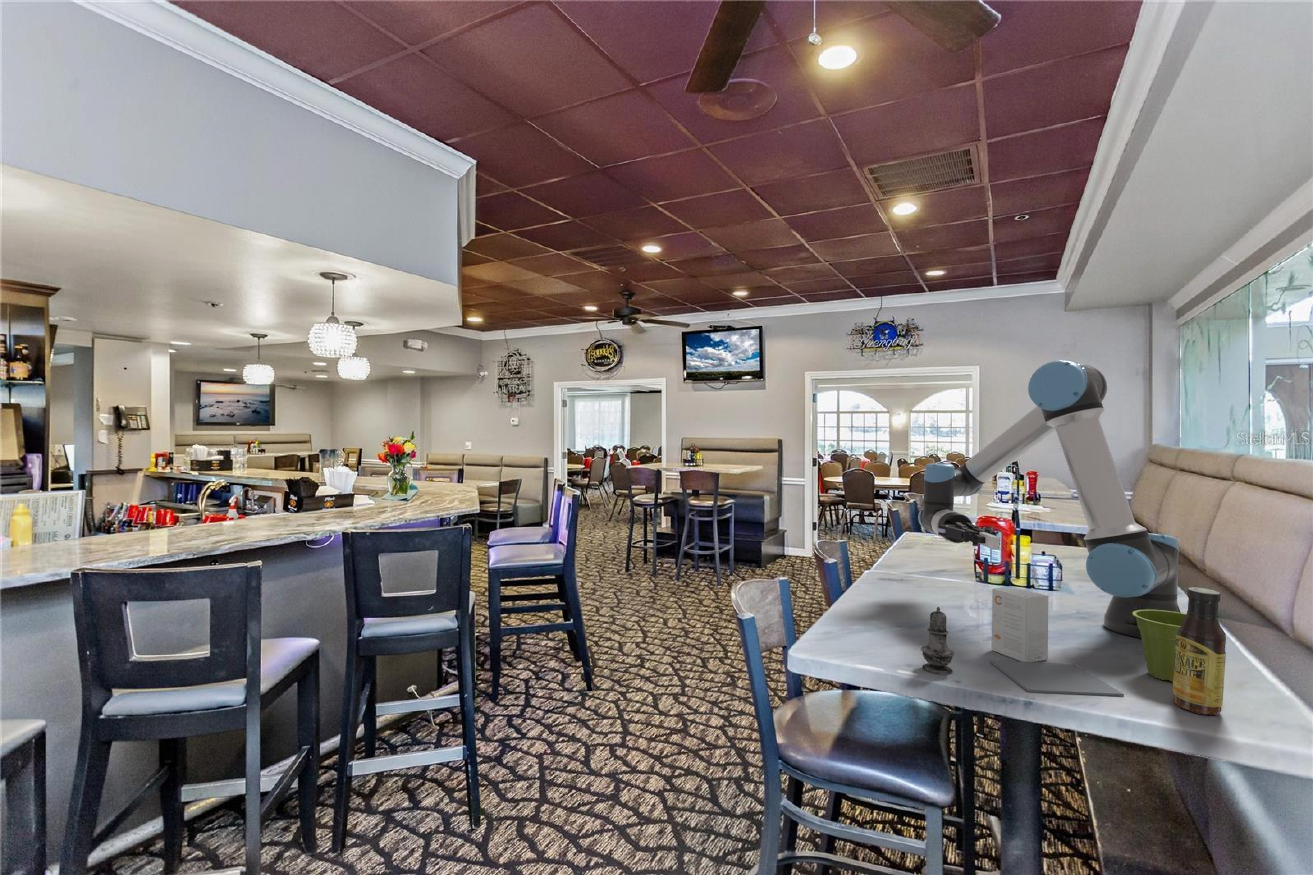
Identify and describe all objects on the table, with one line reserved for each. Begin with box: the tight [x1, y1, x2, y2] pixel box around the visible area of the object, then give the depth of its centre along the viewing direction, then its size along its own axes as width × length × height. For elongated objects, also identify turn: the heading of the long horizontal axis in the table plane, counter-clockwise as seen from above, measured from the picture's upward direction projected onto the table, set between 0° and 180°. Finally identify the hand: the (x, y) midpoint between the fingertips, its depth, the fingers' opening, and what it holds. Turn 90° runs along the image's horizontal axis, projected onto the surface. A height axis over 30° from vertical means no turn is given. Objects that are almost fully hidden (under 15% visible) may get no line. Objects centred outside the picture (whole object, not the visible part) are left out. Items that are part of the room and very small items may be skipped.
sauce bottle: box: [1172, 586, 1227, 716], centre depth 101 cm, size 7×6×20 cm
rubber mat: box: [989, 659, 1125, 697], centre depth 113 cm, size 16×14×1 cm
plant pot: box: [1133, 610, 1187, 683], centre depth 115 cm, size 12×12×11 cm
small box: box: [990, 586, 1049, 662], centre depth 125 cm, size 8×6×13 cm
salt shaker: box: [920, 606, 955, 676], centre depth 117 cm, size 6×6×12 cm
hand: (995, 543), depth 135 cm, fingers closed
